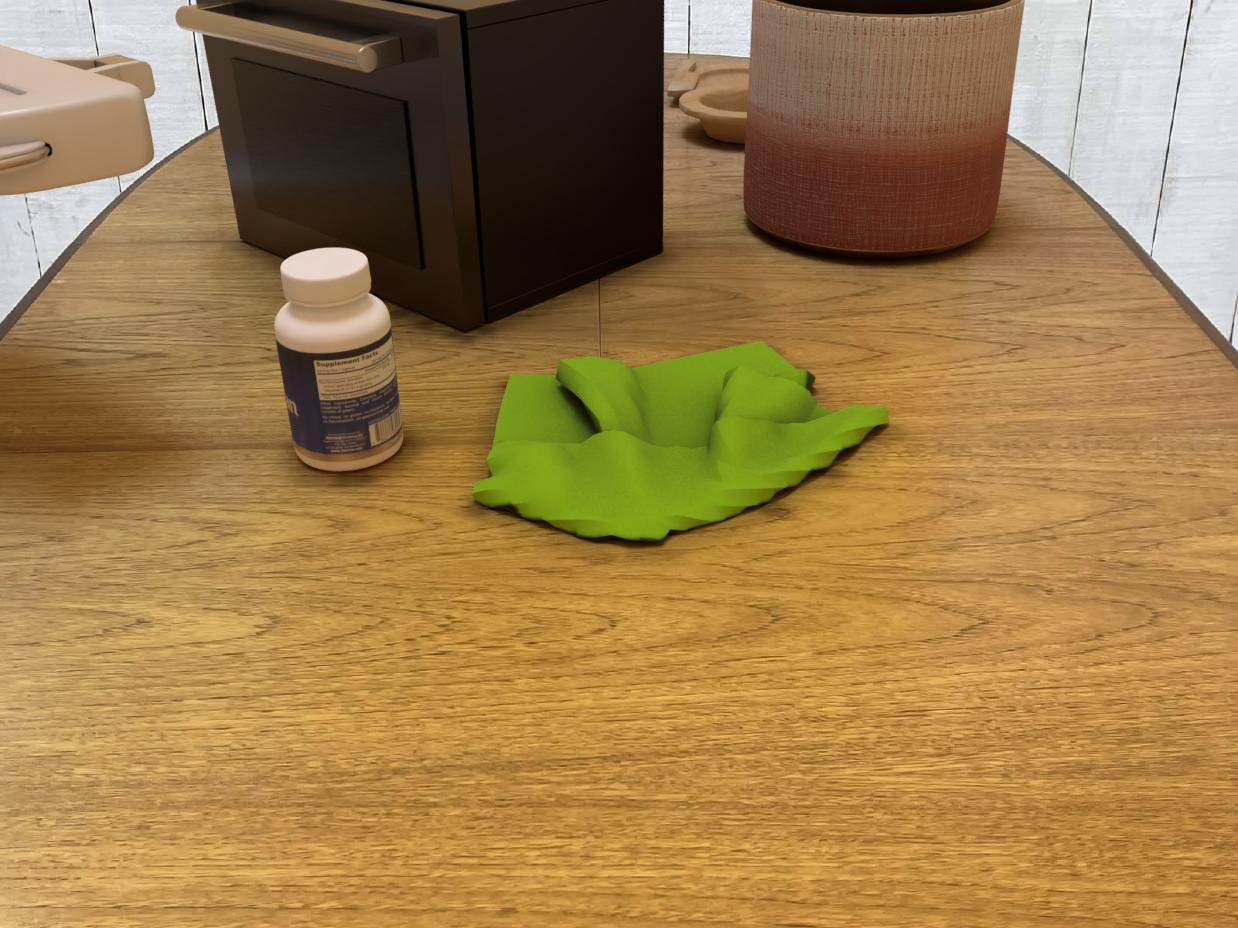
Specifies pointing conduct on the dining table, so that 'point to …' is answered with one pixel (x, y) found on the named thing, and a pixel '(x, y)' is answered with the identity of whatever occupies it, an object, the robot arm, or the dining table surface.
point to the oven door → (350, 139)
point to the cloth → (661, 441)
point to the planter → (878, 122)
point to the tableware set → (714, 97)
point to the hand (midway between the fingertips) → (139, 73)
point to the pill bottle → (337, 362)
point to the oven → (561, 140)
